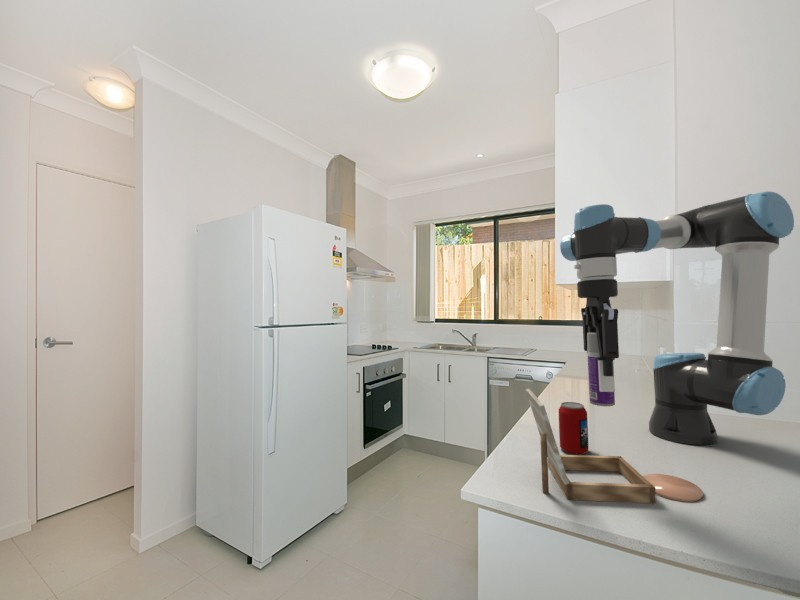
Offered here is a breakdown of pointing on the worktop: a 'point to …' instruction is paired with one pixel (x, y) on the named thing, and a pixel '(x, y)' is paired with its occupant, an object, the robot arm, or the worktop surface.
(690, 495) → the saucer
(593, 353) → the container
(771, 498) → the worktop surface
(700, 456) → the worktop surface
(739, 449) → the worktop surface
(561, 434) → the beverage can
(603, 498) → the wooden frame
